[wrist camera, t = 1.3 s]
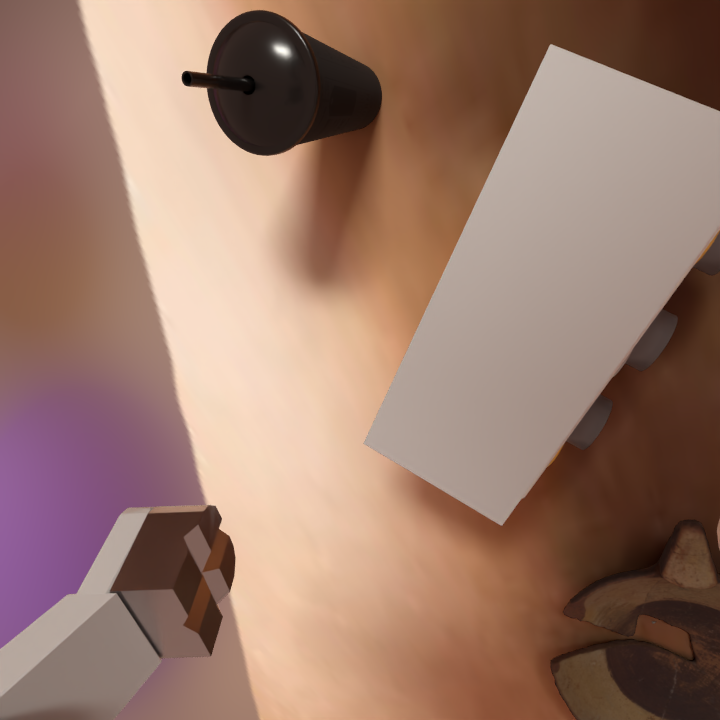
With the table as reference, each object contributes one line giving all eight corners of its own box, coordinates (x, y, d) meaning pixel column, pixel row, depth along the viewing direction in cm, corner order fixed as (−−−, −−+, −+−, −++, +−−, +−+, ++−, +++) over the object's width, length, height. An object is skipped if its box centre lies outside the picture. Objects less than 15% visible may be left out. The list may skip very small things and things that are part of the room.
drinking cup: (369, 18, 41) (196, -56, 24) (415, 114, 42) (281, 107, 25) (295, 79, 45) (102, 52, 28) (339, 165, 46) (179, 189, 29)
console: (728, 135, 35) (799, 142, 21) (540, 414, 47) (510, 531, 33) (574, 73, 37) (550, 43, 23) (433, 355, 49) (363, 443, 36)
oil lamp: (529, 673, 59) (518, 742, 52) (622, 447, 45) (623, 501, 39) (764, 780, 52) (786, 874, 45) (956, 550, 38) (1025, 637, 32)
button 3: (612, 391, 38) (612, 416, 35) (582, 432, 40) (579, 460, 37) (573, 370, 39) (569, 393, 36) (545, 412, 41) (538, 437, 38)
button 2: (674, 307, 35) (680, 327, 32) (637, 357, 37) (639, 380, 34) (630, 286, 36) (631, 303, 32) (596, 336, 38) (594, 357, 34)
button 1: (750, 205, 31) (765, 215, 28) (704, 266, 33) (714, 282, 30) (699, 184, 32) (709, 191, 29) (657, 245, 34) (662, 258, 31)
